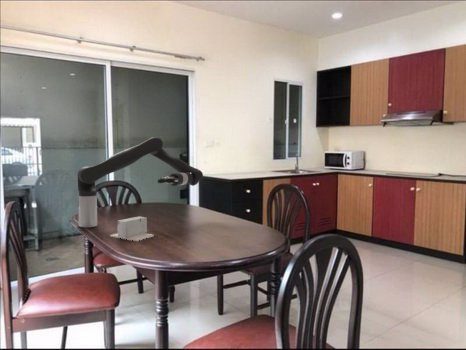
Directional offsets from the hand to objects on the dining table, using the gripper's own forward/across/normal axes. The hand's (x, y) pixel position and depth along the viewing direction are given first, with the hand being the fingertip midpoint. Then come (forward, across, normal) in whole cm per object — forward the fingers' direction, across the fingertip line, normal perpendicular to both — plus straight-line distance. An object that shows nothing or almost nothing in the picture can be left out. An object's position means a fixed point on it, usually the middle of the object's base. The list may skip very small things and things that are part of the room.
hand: (158, 181), depth 205 cm
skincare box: (+13, 0, +21) cm, 25 cm away
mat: (+21, +1, +26) cm, 33 cm away
